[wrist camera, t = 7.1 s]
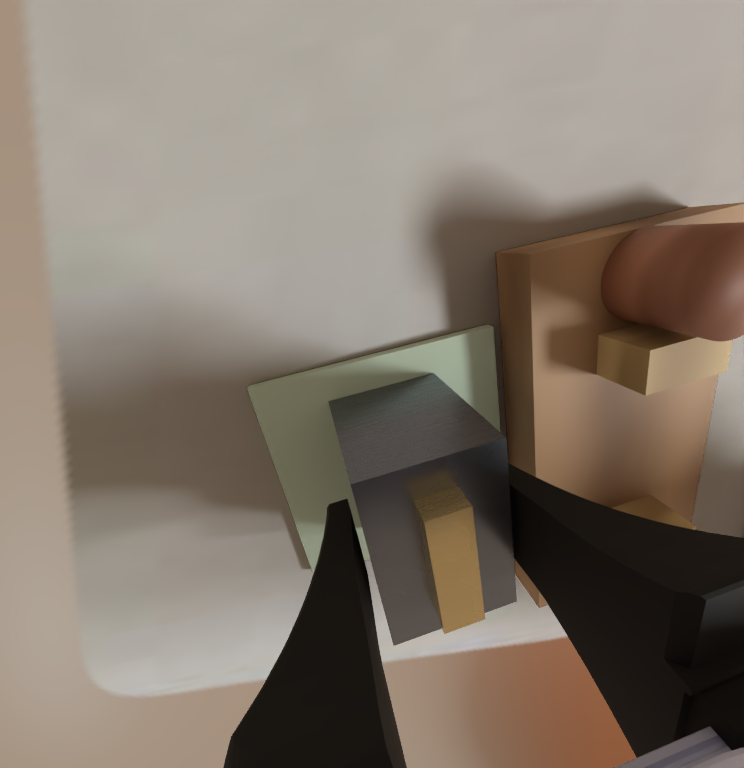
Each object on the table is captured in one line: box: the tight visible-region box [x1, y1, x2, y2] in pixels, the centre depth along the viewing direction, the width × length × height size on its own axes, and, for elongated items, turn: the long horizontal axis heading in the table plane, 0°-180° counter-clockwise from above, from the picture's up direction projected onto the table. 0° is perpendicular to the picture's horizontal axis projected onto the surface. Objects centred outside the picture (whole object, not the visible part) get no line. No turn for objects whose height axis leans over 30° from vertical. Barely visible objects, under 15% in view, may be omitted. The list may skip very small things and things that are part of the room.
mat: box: [247, 324, 500, 574], centre depth 15 cm, size 9×9×1 cm
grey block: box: [328, 373, 516, 645], centre depth 12 cm, size 4×6×6 cm, turn 11°
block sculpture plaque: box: [496, 203, 744, 608], centre depth 14 cm, size 8×16×5 cm, turn 11°
